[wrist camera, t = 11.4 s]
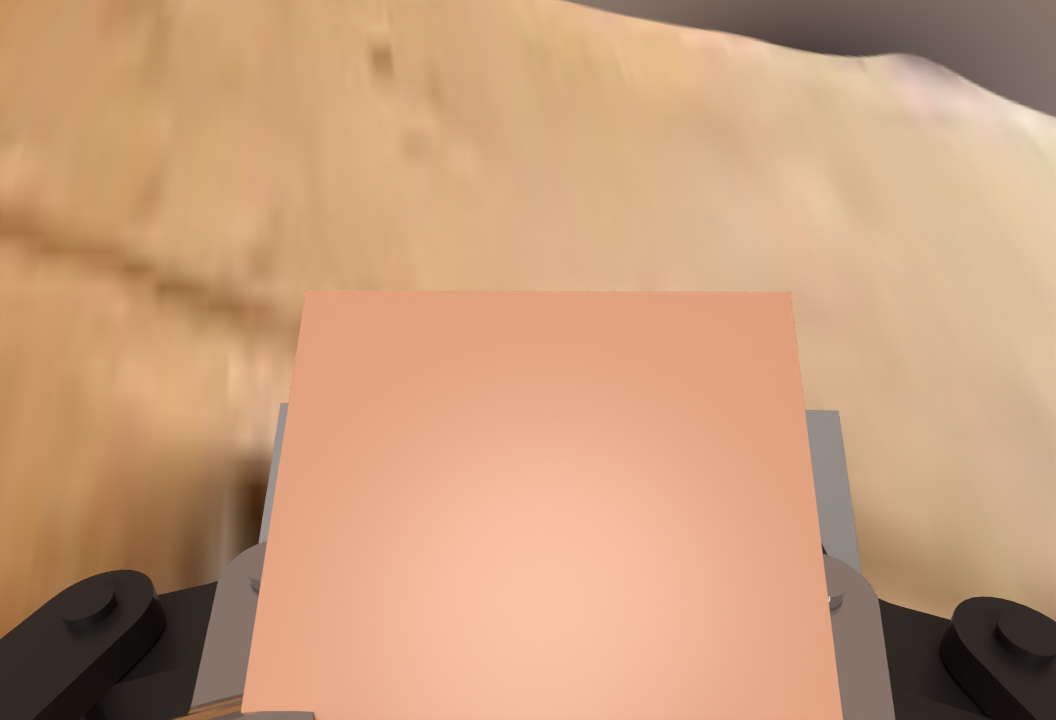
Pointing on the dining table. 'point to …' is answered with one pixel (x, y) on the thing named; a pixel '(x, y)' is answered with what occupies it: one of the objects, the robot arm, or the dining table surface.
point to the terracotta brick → (545, 512)
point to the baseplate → (825, 468)
